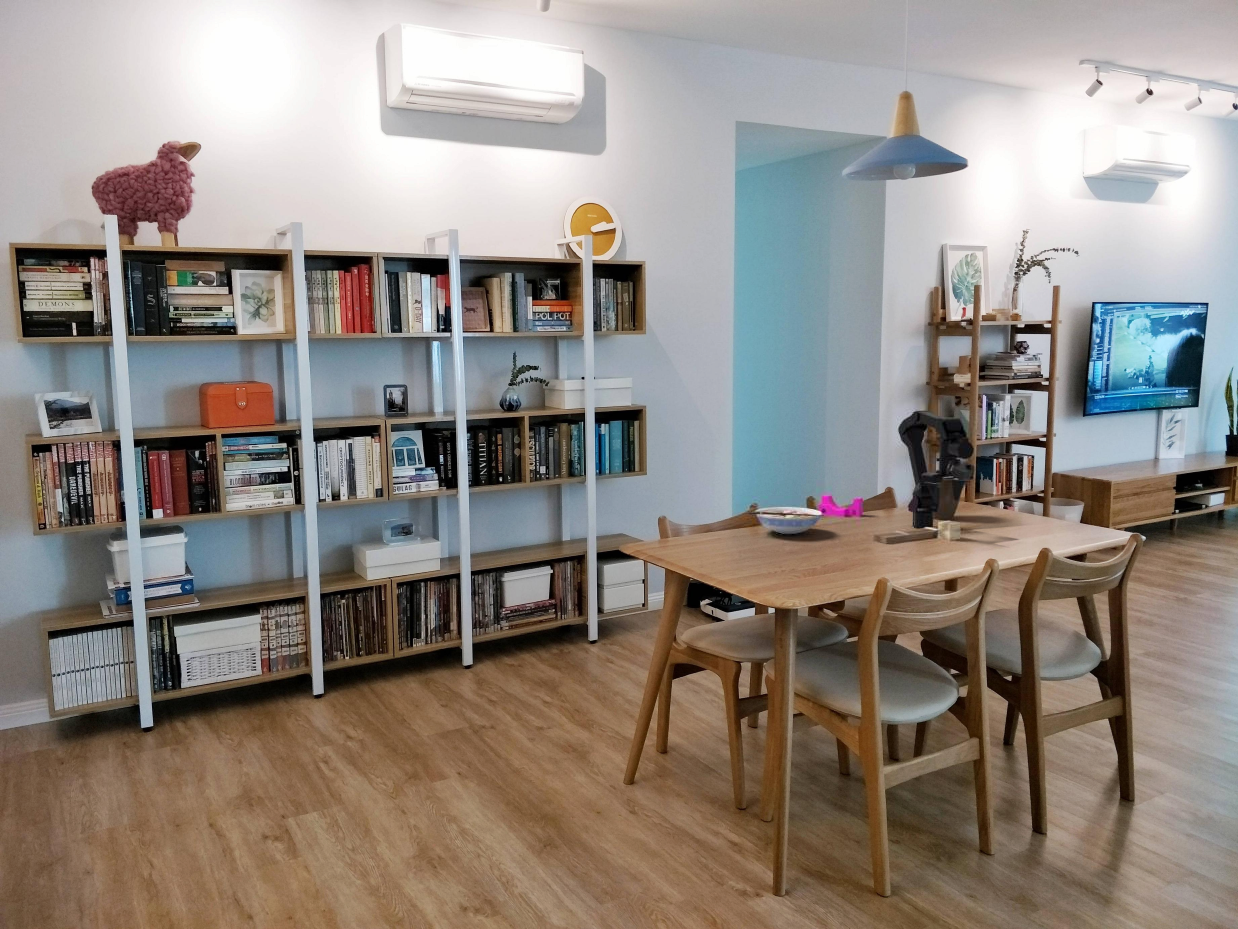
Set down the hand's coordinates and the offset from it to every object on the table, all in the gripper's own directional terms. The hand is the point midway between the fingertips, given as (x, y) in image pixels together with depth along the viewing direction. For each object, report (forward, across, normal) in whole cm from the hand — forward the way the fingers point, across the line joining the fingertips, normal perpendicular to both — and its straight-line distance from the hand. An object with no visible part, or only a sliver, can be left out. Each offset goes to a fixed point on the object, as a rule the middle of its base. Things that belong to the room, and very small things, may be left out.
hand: (946, 501), depth 325 cm
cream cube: (+12, -2, -3) cm, 12 cm away
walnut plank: (+12, -12, +4) cm, 17 cm away
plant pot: (+12, +23, +23) cm, 35 cm away
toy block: (+13, -3, +49) cm, 50 cm away
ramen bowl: (+12, -41, +32) cm, 53 cm away
